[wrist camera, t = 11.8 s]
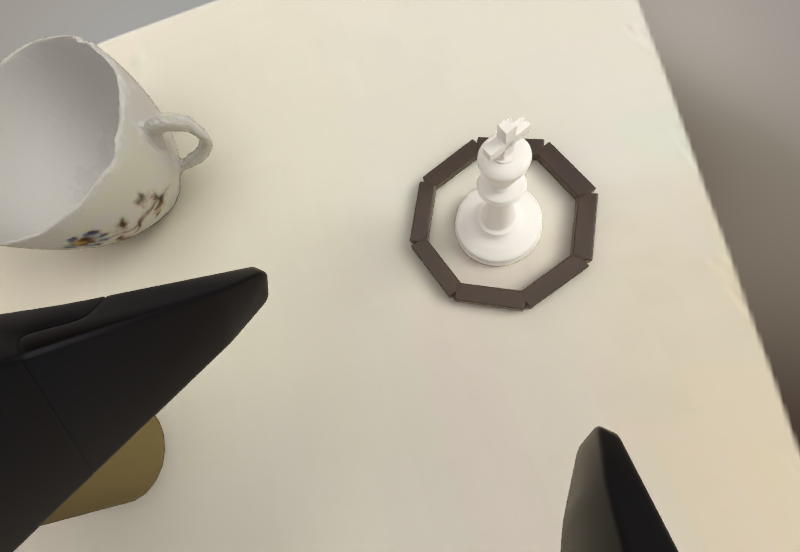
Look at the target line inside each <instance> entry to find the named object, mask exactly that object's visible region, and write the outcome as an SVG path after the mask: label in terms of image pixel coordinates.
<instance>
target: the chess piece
mask: <svg viewBox="0 0 800 552" xmlns="http://www.w3.org/2000/svg"><path fill="white" fill-rule="evenodd" d="M529 130H530V124H529V123H528V122H527V121H526V120H525V119H524V118H523V117H521V118H520V119H518V120H517V121H516V122H513V121H512V120H511V119H510V118H509V117H508V118H507V119H505V120H504V121H503V122H502V123H500V124H499V125H498V131H497V134H495V135H493V136H491V137H490V138H488V139H487V140H486V141H485V142H484V143H483V144H482V145H481V147H480V149H479V152H478V156H477V163H478V167H479V169H480V171H481V173H480V175H479V177H478V180H477V188H476V189H475V190H473V191H472V192H470V193H469V194H468V195H467V196H466V197H465V198H464V200H463V201H462V203H461V204H460V206H459V208H458V211H457V214H456V219H455V234H456V238H457V240H458V243H459V245H460V246H461V248H462V249H463V250H464V252H465V253H466V254H467V255H469V256H470V257H471V258H473V259H474V260H476V261H478V262H480V263H483V264H486V265H492V266H503V265H509V264H512V263H515V262H517V261H519V260H521V259H523V258H524V257H526V256H527V255H528V254H529V253H530V252H531V251H532V250H533V249H534V248H535V246H536V245H537V243H538V241H539V239H540V236H541V232H542V213H541V210H540V207H539V205H538V203H537V201H536V200H535V198H534V197H533V196H532V195H531V194H530V193H529V192H528V191H527V190H526V187H527V179H526V176H525V172H526V171H527V170H528V168H529V166H530V164H531V161H532V151H531V148H530V145H529V144H528V142H527V141H526V140H525V139H524V138H523V136H525V135H526V134H527V133H528V132H529Z"/></svg>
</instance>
